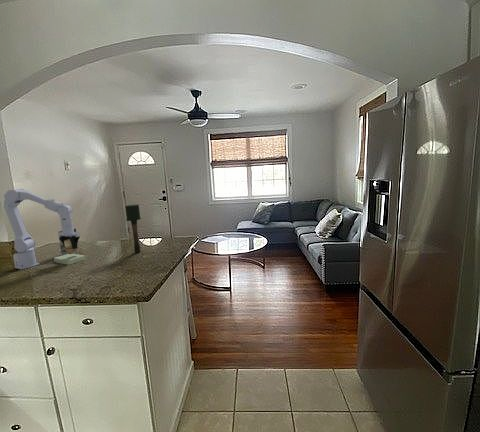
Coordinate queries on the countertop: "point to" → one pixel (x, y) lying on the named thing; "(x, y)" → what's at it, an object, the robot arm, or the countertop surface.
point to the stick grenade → (134, 223)
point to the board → (69, 258)
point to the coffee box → (64, 247)
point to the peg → (69, 247)
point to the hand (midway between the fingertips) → (71, 248)
